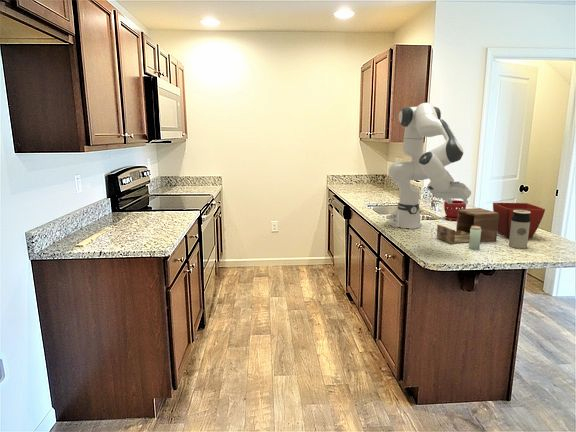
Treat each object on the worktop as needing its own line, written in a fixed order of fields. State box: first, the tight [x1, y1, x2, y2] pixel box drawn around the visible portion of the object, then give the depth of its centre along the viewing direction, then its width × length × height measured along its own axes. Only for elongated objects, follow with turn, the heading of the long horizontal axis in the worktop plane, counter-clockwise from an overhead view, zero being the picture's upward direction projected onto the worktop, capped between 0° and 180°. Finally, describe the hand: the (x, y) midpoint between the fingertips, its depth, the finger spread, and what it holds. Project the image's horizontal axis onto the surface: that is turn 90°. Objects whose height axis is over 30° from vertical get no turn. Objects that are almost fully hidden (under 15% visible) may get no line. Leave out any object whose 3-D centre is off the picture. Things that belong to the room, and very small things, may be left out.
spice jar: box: [468, 226, 481, 251], centre depth 195 cm, size 5×5×11 cm
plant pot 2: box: [492, 202, 546, 239], centre depth 218 cm, size 19×19×17 cm
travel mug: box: [508, 210, 531, 249], centre depth 197 cm, size 8×8×18 cm
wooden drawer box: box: [455, 207, 499, 244], centre depth 212 cm, size 14×14×15 cm
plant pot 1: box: [443, 199, 467, 222], centre depth 258 cm, size 13×13×12 cm
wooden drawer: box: [436, 224, 470, 245], centre depth 209 cm, size 13×16×7 cm
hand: (458, 203), depth 190 cm, fingers open, 8 cm apart
